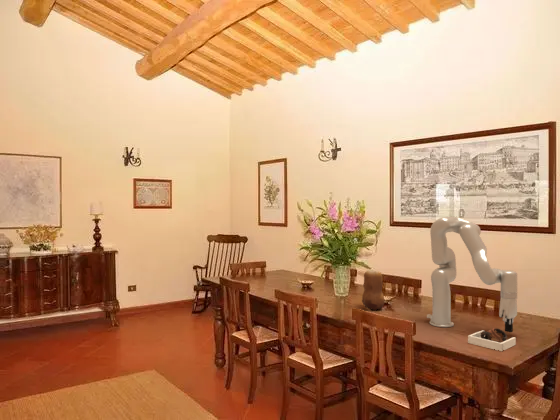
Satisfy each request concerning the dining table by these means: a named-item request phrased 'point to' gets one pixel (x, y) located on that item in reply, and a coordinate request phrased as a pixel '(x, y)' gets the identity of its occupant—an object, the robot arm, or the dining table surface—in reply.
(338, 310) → the dining table surface
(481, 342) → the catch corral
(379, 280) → the butternut squash
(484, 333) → the pottery mug
